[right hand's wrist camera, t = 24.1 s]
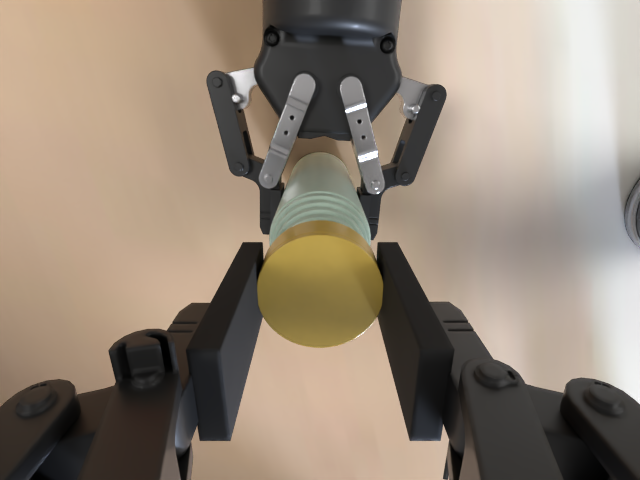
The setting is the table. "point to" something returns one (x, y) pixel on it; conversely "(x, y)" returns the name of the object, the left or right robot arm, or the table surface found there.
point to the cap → (320, 284)
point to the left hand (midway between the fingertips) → (318, 240)
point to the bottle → (320, 196)
